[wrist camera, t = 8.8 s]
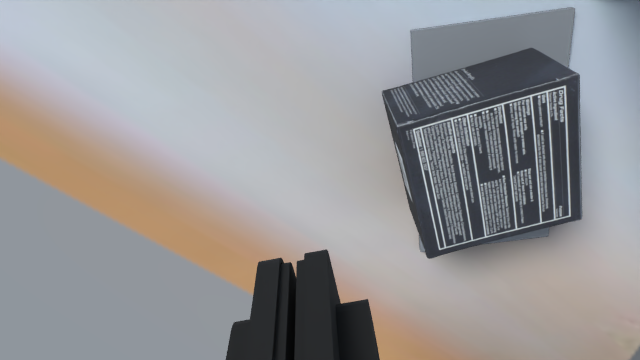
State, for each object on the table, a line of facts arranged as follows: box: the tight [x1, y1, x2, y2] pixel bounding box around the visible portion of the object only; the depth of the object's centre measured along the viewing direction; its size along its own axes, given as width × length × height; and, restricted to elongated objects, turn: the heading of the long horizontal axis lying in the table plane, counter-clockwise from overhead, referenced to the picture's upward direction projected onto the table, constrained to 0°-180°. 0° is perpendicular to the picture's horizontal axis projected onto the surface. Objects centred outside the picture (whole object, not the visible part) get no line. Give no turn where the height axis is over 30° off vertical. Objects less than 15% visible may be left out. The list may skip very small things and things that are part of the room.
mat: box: [411, 7, 575, 252], centre depth 35 cm, size 10×18×1 cm, turn 8°
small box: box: [382, 48, 582, 259], centre depth 32 cm, size 11×6×10 cm
